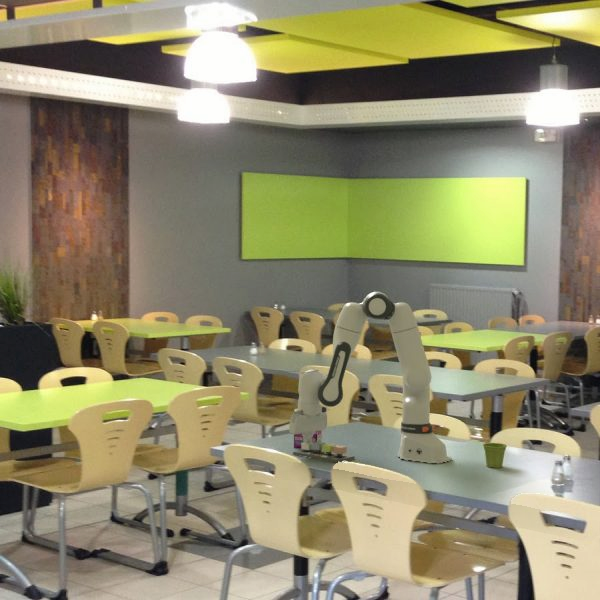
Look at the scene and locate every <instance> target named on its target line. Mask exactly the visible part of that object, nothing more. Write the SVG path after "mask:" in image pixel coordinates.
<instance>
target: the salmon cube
mask: <svg viewBox="0 0 600 600" xmlns="http://www.w3.org/2000/svg"><path fill="white" fill-rule="evenodd" d="M347 448H348V447H347V446H346V445H345V446H344V445H339V444H338V445H336V446H333V453H336V454H337V455H338V456H342V454H347V452H348V451H347V450H348V449H347Z"/></svg>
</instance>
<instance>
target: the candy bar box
mask: <svg viewBox="0 0 600 600" xmlns="http://www.w3.org/2000/svg"><path fill="white" fill-rule="evenodd" d="M294 411H298V408H295V409H294ZM294 411H293V412H294ZM322 433H323V430H319V431H314V435H313V437H312V442H313V443H314V442H323V441H322V440H323V439H322V437H323V434H322ZM307 436H308V435H307ZM303 442H304V438H303V436H302V433H301V434H293V448H296V449H301V443H303Z"/></svg>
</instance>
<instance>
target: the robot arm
mask: <svg viewBox="0 0 600 600" xmlns="http://www.w3.org/2000/svg"><path fill="white" fill-rule="evenodd" d="M370 319H373V320H376V321H377V320H378V321H379V320H384V321H387V323H388V326H389V329H390V333H391V336H392V341H393V343H394V347H395V348H394V349H395V351H396V354H397V359H398V362H399V366H400V370H401V373H402V416H401V417H402V421H401V422H400V432H401V435H400V436H401V437H400V438H401V439H400V445H399V449H398V453H397V455H396V456H397V457H398V458H399V457H400V458H399V460H401V459H405V460H404V461H408V460H412V461H411V462H415V461H420V462H419V463H423V462H427V463H426V464H431V463H437V464H442V463H443V462H445V463H447V461H449V462H451V461H452V460H453V456H449V455H447V447H446V444H445V443H444V442H443V441H442V440H441V439H440V438H439V437H438V436H437V434H435V433H434V429H436V428H435V427H436V426H435V425H432V424H431V423H430V416H431V415H430V413H431V407H430V406H431V403H430V402H431V400H430V398H431V397H430V395H431V393H430V391H431V389H430V386H431V385H430V384H431V382H432V372H431V368H430V364H429V362H428V358H427V354H426V351H425V348H424V347H425V346H424V344H423V340H422V337H421V333H420V328H419V326H418V322H417V319H416V316H415V314H414V312H413V310H412V307H411V306H410V304H408V303H407V302H403V301H402V302H401V301H399V302H397V303H395V302H393V301H391V299H389V297H388V296H387V295H386V294H385V293H383V292H381V291H373V292H370V293H368V294H367V295H366V296H365V297H364V299H362V300H361V301H360V302H347V303H345V304H344V305H343V307H342V309H341V311H340V313H339V315H338V318H337V320H336V323H335V327H334V330H333V337H332V359H331V363H330V367H329V370H328V373H327V375H326V374H324V373H322V372H321V371H320V370H319V369H315V368H314V369H307V370H304V371H302V372H301V373H300V375H299V379H298V387H297V389H298V395H299V396H298V401H297V409H298V411H293V413H292V414H291V416H290V419H289V428H288V432H289V434H292V435H294V434H301V433H302V436H303V438H304V443H311V442H312V437H313V435H314V431H319V430H322V431H325V430H326V429H327V426H328V414H327V413H328V407H330V408H332V407H336V406H338V404H340V403H341V402H342V400H343V397H344V390H343V380H344V377H345V373H346V369H347V366H348V363H349V360H350V358H351V356H352V355H353V353H354V352H355V351H356V348H357V346H358V344H359V342H360V339H361V336H362V333H363V329H364V326H365V324H366V322H367V321H368V320H370ZM321 404H322V405H321ZM307 435H308V436H307ZM450 460H451V461H450Z"/></svg>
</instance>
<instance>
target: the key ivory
mask: <svg viewBox="0 0 600 600" xmlns="http://www.w3.org/2000/svg"><path fill="white" fill-rule="evenodd" d="M312 443H313V442H311V443H304V442H303V443H301V448H300V450H304V449H305V451H306V452H310V451H311V450H312Z"/></svg>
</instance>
